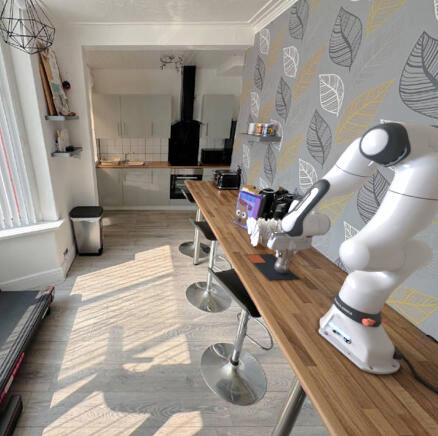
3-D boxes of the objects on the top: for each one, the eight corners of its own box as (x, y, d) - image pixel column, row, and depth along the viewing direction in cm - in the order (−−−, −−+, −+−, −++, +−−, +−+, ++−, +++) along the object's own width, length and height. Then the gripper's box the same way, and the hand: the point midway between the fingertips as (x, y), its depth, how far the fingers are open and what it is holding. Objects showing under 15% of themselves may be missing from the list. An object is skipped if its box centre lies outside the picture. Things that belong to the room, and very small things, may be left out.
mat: (299, 279, 114) (299, 278, 113) (268, 280, 112) (269, 279, 111) (272, 254, 134) (272, 253, 133) (245, 255, 132) (245, 254, 131)
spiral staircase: (288, 256, 140) (246, 251, 141) (279, 233, 152) (241, 228, 152) (305, 238, 127) (259, 233, 127) (295, 214, 138) (252, 209, 139)
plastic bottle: (289, 276, 115) (302, 240, 107) (275, 274, 116) (286, 238, 108) (285, 268, 121) (296, 234, 113) (271, 266, 122) (281, 232, 114)
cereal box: (233, 222, 174) (239, 191, 164) (237, 221, 176) (244, 190, 166) (252, 232, 160) (260, 198, 150) (257, 231, 162) (265, 198, 152)
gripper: (276, 235, 105) (268, 260, 111) (317, 234, 108) (307, 259, 114) (268, 228, 111) (261, 253, 117) (307, 228, 114) (298, 252, 119)
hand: (284, 256), depth 115 cm, fingers open, 6 cm apart
